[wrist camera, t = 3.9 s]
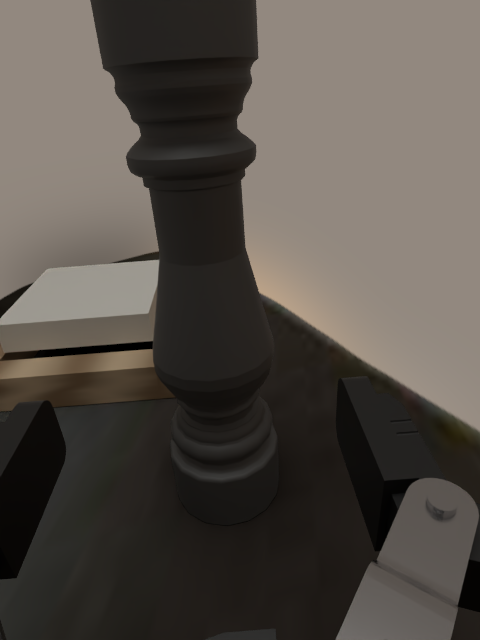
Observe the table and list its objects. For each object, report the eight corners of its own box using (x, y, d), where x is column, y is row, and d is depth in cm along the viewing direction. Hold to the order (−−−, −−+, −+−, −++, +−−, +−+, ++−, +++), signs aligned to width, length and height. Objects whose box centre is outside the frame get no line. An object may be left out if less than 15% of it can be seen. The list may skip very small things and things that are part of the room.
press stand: (-37, 414, 34) (-52, 383, 32) (44, 310, 50) (37, 286, 48) (194, 395, 34) (189, 363, 32) (201, 297, 50) (198, 273, 48)
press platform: (4, 352, 35) (-7, 325, 34) (54, 291, 45) (47, 268, 44) (153, 340, 35) (148, 313, 34) (168, 281, 45) (165, 259, 44)
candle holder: (298, 500, 25) (296, -71, 13) (195, 543, 23) (81, -81, 11) (253, 432, 30) (222, -22, 18) (166, 462, 28) (67, -24, 16)
